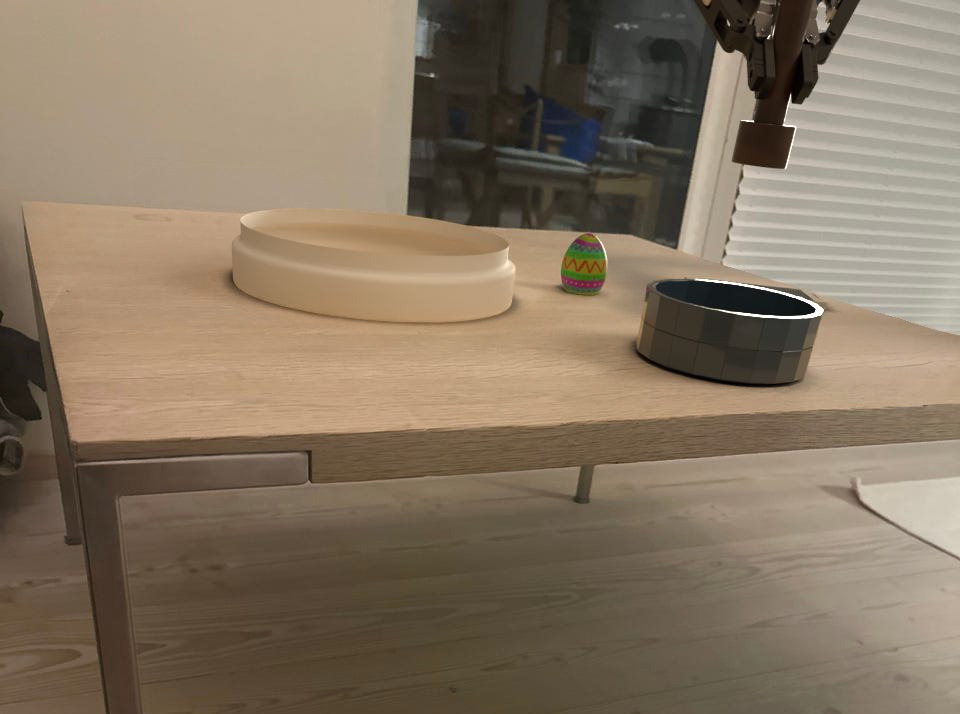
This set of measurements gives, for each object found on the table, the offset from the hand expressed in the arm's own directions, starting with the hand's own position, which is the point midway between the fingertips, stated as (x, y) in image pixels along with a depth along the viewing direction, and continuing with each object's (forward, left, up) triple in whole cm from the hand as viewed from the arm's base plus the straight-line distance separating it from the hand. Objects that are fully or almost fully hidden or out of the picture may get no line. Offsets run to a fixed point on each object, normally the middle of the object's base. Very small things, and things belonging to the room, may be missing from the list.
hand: (784, 92), depth 71 cm
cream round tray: (+28, -20, -20) cm, 40 cm away
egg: (+5, -24, -20) cm, 32 cm away
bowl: (+2, +3, -20) cm, 20 cm away
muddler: (0, -2, -5) cm, 5 cm away
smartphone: (-18, -27, -20) cm, 38 cm away
